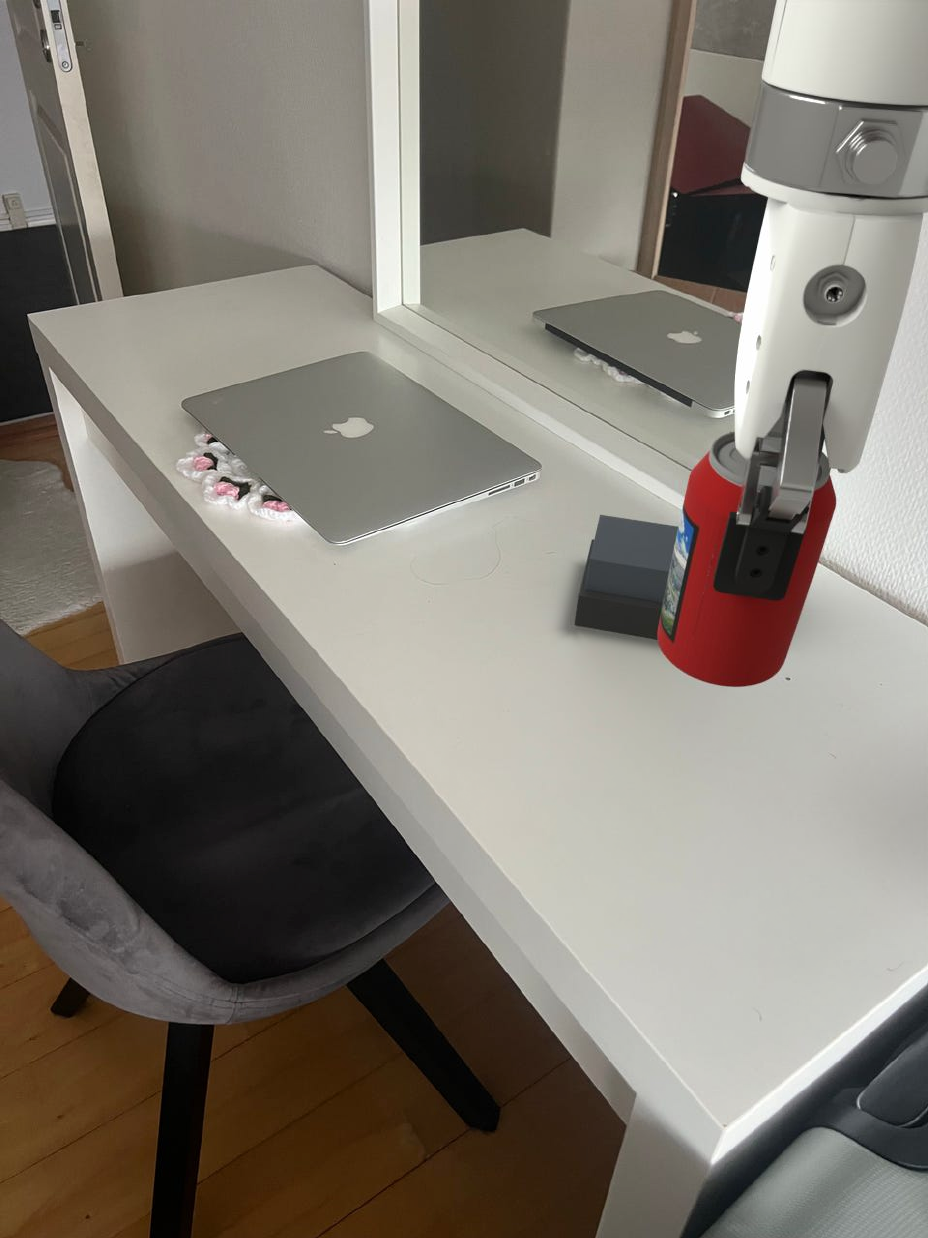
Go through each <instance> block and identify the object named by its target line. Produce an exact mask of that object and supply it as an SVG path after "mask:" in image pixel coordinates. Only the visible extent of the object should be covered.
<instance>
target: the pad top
mask: <svg viewBox="0 0 928 1238" xmlns="http://www.w3.org/2000/svg"><path fill="white" fill-rule="evenodd" d="M677 531H678V525H669V524H663V523H658V522H650V521H645V520H637V519H632V518H626V517H625V518H624V517H619V516H612V515H605V514H599V517H598V521H597V526H596V530H595V533H594V538H593V539H594V543H593V547H592V551H591V556H590V561H589V568H588V575H587V581H586V588H585V589H586V590H590V591H596V592H602V593H608V594H613V595H619V596H625V597H631V598H637V599H643V600H649V601H655V602H661V603H663V600H664V595H665V590H666V585H667V580H668V575H669V570H670V565H671V560H672V555H673V550H674V546H675V541H676V536H677Z"/></svg>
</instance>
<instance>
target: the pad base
mask: <svg viewBox="0 0 928 1238" xmlns="http://www.w3.org/2000/svg"><path fill="white" fill-rule="evenodd" d="M594 539H595V538H593V539H592V538H591V540H590V546H589V550H588V554H587V558H586V563H585V566H584V570H583V575H582V579H581V583H580V587H579V590H578V591H579V592H578V596H577V603H576V610H575V617H574V618H575V619H574V626H578V627H579V626H580V627H585V628H591V629H596V630H601V631H607V632H612V633H619V634H624V635H630V636H636V637H642V638H646V639H647V638H648V639H652V640H658V638H657V632H658V626H659V621H660V616H661V611H662V605H663V603H661V602H655V601H649V600H643V599H637V598H631V597H625V596H619V595H613V594H608V593H602V592H596V591H590V590H586V589H585V588H586V581H587V575H588V568H589V561H590V556H591V551H592V547H593V543H594Z"/></svg>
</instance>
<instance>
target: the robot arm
mask: <svg viewBox="0 0 928 1238" xmlns="http://www.w3.org/2000/svg"><path fill="white" fill-rule="evenodd" d="M773 11H774V12H773V17H772V21H771V26H770V31H769V37H768V42H767V45H766V51H765V57H764V62H763V66H762V72H761V79H760V81H759V87H758V91H757V96H756V101H755V106H754V109H753V110H754V112H753V114H752V115H753V116H752V121H751V125H750V126H751V127H750V132H749V135H748V141H747V146H746V150H745V155H744V162H743V165H742V169H741V175H740V180H741V182H742V183H743V185H744V186H745V187H747V188H749V189H750V190H751V191H753V192H755V193H757V194H759V195H762V196H764V197H766V198H767V202H766V207H765V210H764V215H763V219H762V224H761V228H760V232H759V237H758V242H757V246H756V247H757V248H756V251H755V255H754V260H753V265H752V270H751V274H750V280H749V284H748V288H747V293H746V294H747V295H746V298H745V305H744V310H743V314H742V322H741V328H740V334H739V339H738V348H737V355H736V364H735V373H734V377H735V378H734V431H735V445H736V449H737V450H738V452H739V453H740V454H741V455H742V456H743V457H744V458H745V459H746V460H747V462H746V468H745V473H744V478H743V483H742V489H741V494H740V499H739V504H738V509H737V512H732V511H730V513H729V517H728V521H727V525H726V529H725V533H724V537H723V541H722V545H721V549H720V553H719V557H718V561H717V565H716V569H715V573H714V577H713V587H714V589H715V590H716V591H717V592H721V593H727V594H734V595H741V596H747V597H754V598H760V599H767V600H773V601H778V600H781V599H783V598H784V597H785V595H786V592H787V589H788V586H789V583H790V579H791V576H792V573H793V570H794V567H795V563H796V560H797V557H798V554H799V551H800V548H801V544H802V541H803V538H804V535H805V532H806V528H807V527H806V525H807V521H808V516H809V511H810V506H811V502H812V497H813V492H814V487H815V483H816V478H817V473H818V468H819V465H820V459H821V454H822V452H823V448H824V445H825V450H826V456H827V458H828V463H829V468H831V470H832V469H833V470H837V472H838V473H840V474H848V473H850V472H852V471H853V470H855V469H856V468H857V467H858V466H859V464H860V462H861V459H862V456H863V453H864V449H865V447H866V443H867V440H868V436H869V433H870V429H871V426H872V422H873V418H874V415H875V412H876V409H877V405H878V401H879V398H880V394H881V391H882V388H883V384H884V380H885V378H886V373H887V370H888V366H889V363H890V360H891V356H892V353H893V349H894V346H895V342H896V338H897V336H898V330H899V328H900V323H901V320H902V317H903V313H904V308H905V306H906V301H907V296H908V292H909V288H910V284H911V280H912V277H913V271H914V267H915V262H916V258H917V254H918V248H919V242H920V237H921V231H922V225H923V219H924V214H926V213H927V214H928V0H776V1H775V6H774V10H773ZM766 436H767V437H775V438H781V446H780V453H779V452H771V451H763V450H761V449H762V444H763V439H764V438H765V437H766ZM762 466H769V467H777V471H776V475H775V477H774V479H773V481H772V487H771V486H763V488H762V489H761V490H760V492H759V493H758V492H757V489H758V484H759V479H760V474H761V469H762ZM756 494H757V496H756Z"/></svg>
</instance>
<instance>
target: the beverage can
mask: <svg viewBox="0 0 928 1238" xmlns="http://www.w3.org/2000/svg"><path fill="white" fill-rule="evenodd" d="M780 446H781V438H775V437H767V436H766V437H765V438H764V439H763V444H762V449H761V450H763V451H771V452H779V453H780ZM746 462H747V460H746V459H745V458H744V457H743V456H742V455H741V454H740V453H739V452H738V450H737V449H736V445H735V430H734V431H729V432H727V433H724V434H722V435H721V436H719V437H717V438H716V439H714V441H713V442H712V444H711V446H710V449H709V451H708V452H707V453H706V454H705V455H704V456H703V457H702V458H701V459H700V460H699V461H698V462H697V463H696V465H695V466H694V467H693V468H692V470H691V472H690V473H689V477H688V480H687V485H686V489H685V495H684V498H683V504H682V508H681V513H680V517H679V521H678V525H677V527H678V531H677V536H676V541H675V546H674V550H673V555H672V560H671V565H670V570H669V575H668V580H667V585H666V590H665V595H664V600H663V605H662V611H661V616H660V621H659V626H658V632H657V638H658V639H657V643H658V646H659V648H660V650H661V652H662V654H663V655H664V657H665V658H666V660H668V662H669V663H671V664H672V666H674V667H675V668H676V669H678V670H679V671H681V672H682V673H684V674H686V675H687V676H689V677H691V678H693V679H696V680H698V681H701V682H702V683H703V682H704V683H706V684H711V685H714V686H720V687H728V688H743V687H744V688H745V687H751V686H755V685H758V684H762V683H764V682H766V681H769V680H770V679H772V678H773V677H775V676H776V675H777V674H778V673H779V672H780V671H781V669H782V668H783V666H784V665H785V661H786V659H787V655H788V652H789V650H790V647H791V643H792V641H793V638H794V635H795V632H796V630H797V627H798V624H799V621H800V618H801V615H802V612H803V609H804V606H805V604H806V600H807V597H808V595H809V591H810V588H811V585H812V582H813V579H814V576H815V573H816V571H817V567H818V564H819V561H820V559H821V555H822V552H823V548H824V546H825V542H826V539H827V536H828V533H829V530H830V526H831V523H832V520H833V517H834V514H835V510H836V509H837V495H836V491H835V488H834V485H833V481H832V477H831V470H832V468H829V463H828V457H827V454H826V453H824V451H822V454H821V459H820V465H819V468H818V473H817V478H816V483H815V487H814V492H813V497H812V502H811V506H810V511H809V516H808V521H807V525H806V527H807V528H806V532H805V535H804V538H803V541H802V544H801V548H800V551H799V554H798V557H797V560H796V563H795V567H794V570H793V573H792V576H791V579H790V583H789V586H788V589H787V592H786V595H785V597H784V598H783V599H781V600H778V601H773V600H767V599H760V598H754V597H747V596H741V595H734V594H727V593H721V592H717V591H716V590H715V589H714V587H713V577H714V573H715V569H716V565H717V561H718V557H719V553H720V549H721V545H722V541H723V537H724V533H725V529H726V525H727V521H728V517H729V513H730V511H732V512H737V509H738V504H739V499H740V494H741V489H742V483H743V478H744V473H745V468H746ZM776 471H777V467H769V466H762V469H761V474H760V479H759V484H758V489H757V492H758V493H759V492H760V490H761V489H762V488H763V486H771V487H772V481H773V479H774V477H775V475H776ZM756 496H757V494H756Z"/></svg>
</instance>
